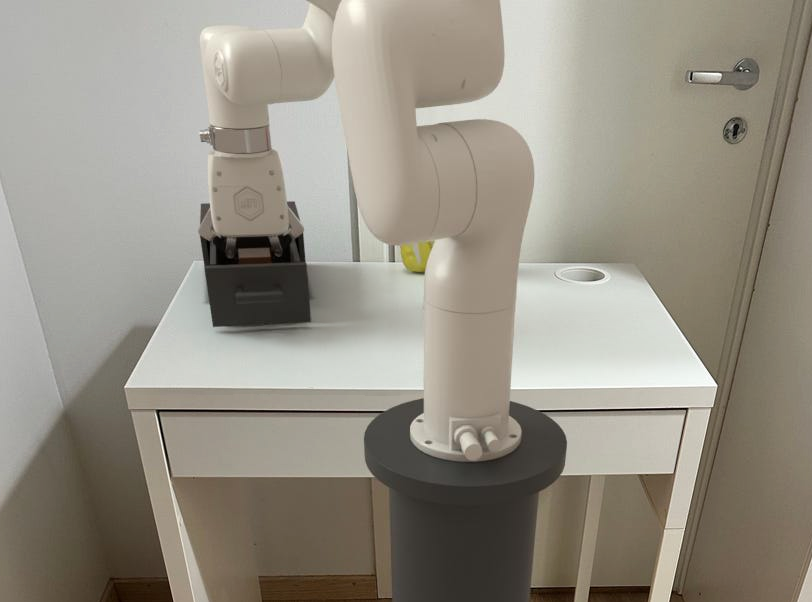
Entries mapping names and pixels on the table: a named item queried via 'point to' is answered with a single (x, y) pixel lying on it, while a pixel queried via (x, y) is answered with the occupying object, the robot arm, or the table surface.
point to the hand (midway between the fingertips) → (257, 282)
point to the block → (254, 256)
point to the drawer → (257, 288)
